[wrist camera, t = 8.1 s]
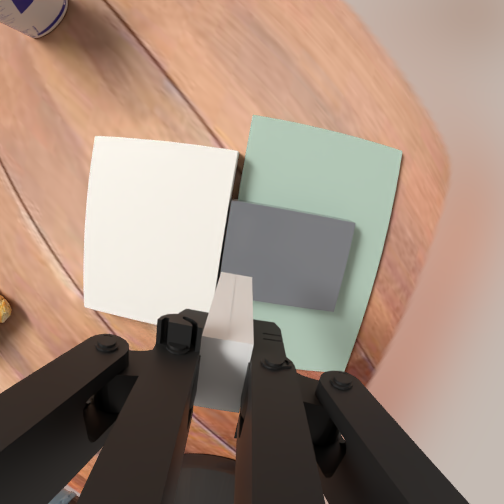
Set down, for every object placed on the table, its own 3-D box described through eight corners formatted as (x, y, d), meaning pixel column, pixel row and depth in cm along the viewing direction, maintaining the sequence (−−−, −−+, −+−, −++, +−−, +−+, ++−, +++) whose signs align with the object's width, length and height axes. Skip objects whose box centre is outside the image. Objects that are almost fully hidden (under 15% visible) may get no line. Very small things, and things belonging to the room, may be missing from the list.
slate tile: (329, 304, 25) (333, 311, 23) (219, 287, 25) (217, 294, 23) (349, 220, 23) (355, 223, 22) (233, 198, 23) (231, 200, 22)
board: (211, 323, 26) (208, 335, 24) (94, 298, 26) (84, 306, 24) (239, 152, 23) (237, 150, 21) (106, 138, 22) (95, 135, 20)
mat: (342, 370, 27) (343, 373, 27) (213, 354, 27) (212, 357, 26) (399, 151, 22) (402, 151, 22) (252, 115, 22) (252, 114, 21)
